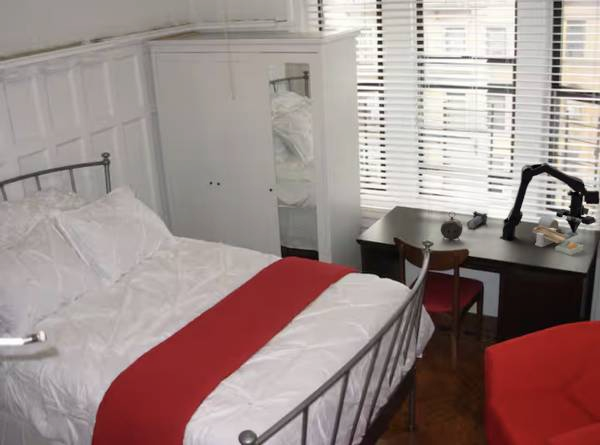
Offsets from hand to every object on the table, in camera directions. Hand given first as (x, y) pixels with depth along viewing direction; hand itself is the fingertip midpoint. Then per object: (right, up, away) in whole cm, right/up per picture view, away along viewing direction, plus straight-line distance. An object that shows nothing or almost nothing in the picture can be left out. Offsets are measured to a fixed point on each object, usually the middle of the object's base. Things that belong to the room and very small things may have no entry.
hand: (574, 232), depth 358 cm
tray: (-6, -9, -10) cm, 15 cm away
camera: (-43, +3, +29) cm, 52 cm away
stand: (-14, -5, +1) cm, 15 cm away
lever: (-9, -3, +2) cm, 10 cm away
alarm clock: (-61, -5, +10) cm, 62 cm away
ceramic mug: (-6, +1, +18) cm, 19 cm away
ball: (-5, -7, -12) cm, 15 cm away
